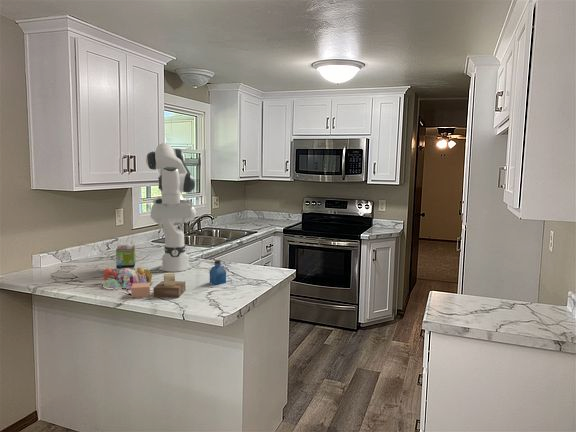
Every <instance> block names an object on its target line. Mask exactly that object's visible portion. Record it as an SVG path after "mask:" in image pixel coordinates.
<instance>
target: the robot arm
mask: <svg viewBox="0 0 576 432" xmlns="http://www.w3.org/2000/svg"><path fill="white" fill-rule="evenodd" d="M185 160H186V159H185V154H184V152H183V150H181V149H180V148H174V149H173V147H172V146H171V145H170V144H169V143H167V142H166V143H164V142H162V143H159V145H157V146H156V149H155V151H151V152H148V154H147V155H146V157H145V162H146V165H147V167H148V168H149V170H159V175H158V178H157V180H158V187H157V188H158V189H159V190H160V193H161V197H160V196H159V197H157V198H154V199H152V206H151V209H150V218H151V219H152V220H153V222H155V223H156V224H158V225H159V227H160V229H162V231H163V234H164V243H165V245H164V254H162V256H161V261H162V262H161V266H160V267H159V268H158V271H164V272H169V273H175V272H183V271H186V270H190V269H192V265H191V264H189V255H188V253H186V245H185V233H184V231H183V230H181V229H180V228H183V227H184V223H187V222H191V221H194V219H195V218H196V214H197V210H196V208H195V206H193V201H192V200H190V199H185V198H184V196H183V194H182V193H189V194H190V193H192V192H193V190H194V189H195V187H196V180H195V177H194V175H193V174H192V173H191V172H190V170H189V169H188V167H187V164H186V163H185ZM177 223H179V226H180V228H177V227H176V226H175V224H177Z"/></svg>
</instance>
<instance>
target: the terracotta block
mask: <svg viewBox="0 0 576 432" xmlns="http://www.w3.org/2000/svg"><path fill="white" fill-rule="evenodd" d="M130 291H131V293H130V294H131V298H132V297H138V298H149V297H150V296H151V284H150V283H134V284H133V285H132V287H131V289H130Z"/></svg>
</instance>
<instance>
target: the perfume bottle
mask: <svg viewBox="0 0 576 432" xmlns="http://www.w3.org/2000/svg"><path fill="white" fill-rule="evenodd" d="M221 265H222V262H221V259H216V260H214V266H212V267H211V268H210V270H209V283H210V284H212V285H215V286H218V285H222V284H223V285H224V284H226V283H227V271H226V269H225V268H224V266H223V265H222V266H221Z"/></svg>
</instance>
